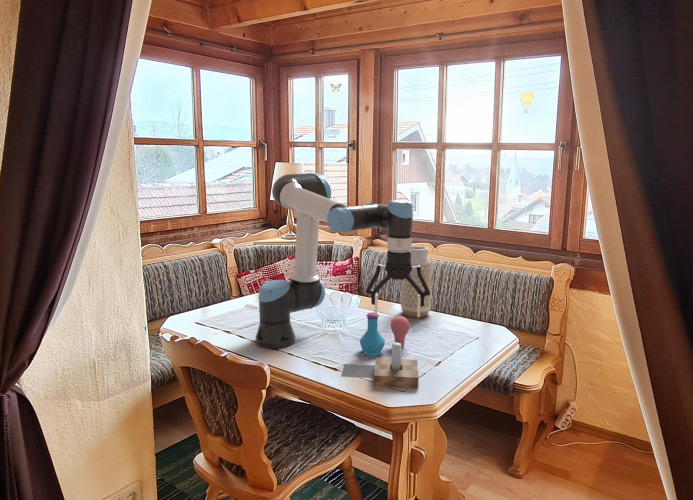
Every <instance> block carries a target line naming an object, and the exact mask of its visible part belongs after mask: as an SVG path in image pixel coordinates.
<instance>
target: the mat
mask: <svg viewBox="0 0 693 500" xmlns="http://www.w3.org/2000/svg"><path fill="white" fill-rule="evenodd" d="M374 369H375V364H352V363H344V364H343V367H342V371H341V374H340V375H341V377H347V378H364V379H365V378H367V379H369V378H370V379H374Z"/></svg>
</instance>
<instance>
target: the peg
mask: <svg viewBox="0 0 693 500" xmlns="http://www.w3.org/2000/svg"><path fill="white" fill-rule="evenodd" d="M391 359H392V370H401V359H402V347H401V343H395V342H393V343H392V345H391Z"/></svg>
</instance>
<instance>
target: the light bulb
mask: <svg viewBox="0 0 693 500" xmlns="http://www.w3.org/2000/svg"><path fill="white" fill-rule="evenodd" d="M410 327H411V325H410V322H409V320H408V319H407V318H406V317H405V316H402V315H398V316H395V317H394V318H393V319H392V320H391V322H390V329H391V331H392V334H393V336H394V343H401V348H402V347H405V339H406V335H407V334H408V332H409V331H410Z"/></svg>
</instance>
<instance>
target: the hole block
mask: <svg viewBox="0 0 693 500" xmlns="http://www.w3.org/2000/svg"><path fill="white" fill-rule="evenodd" d="M418 364H419V363H418V359H411V358H410V359H405V358H401V370H392V358H389V357H388V358H386V357H384V358H383V357H382V358H381V357H375V362H374V365H375V369H374V378H373V387H380V388H381V387H382V388H400V389H401V388H402V389H403V388H404V389H419V367H418V366H419V365H418Z"/></svg>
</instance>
